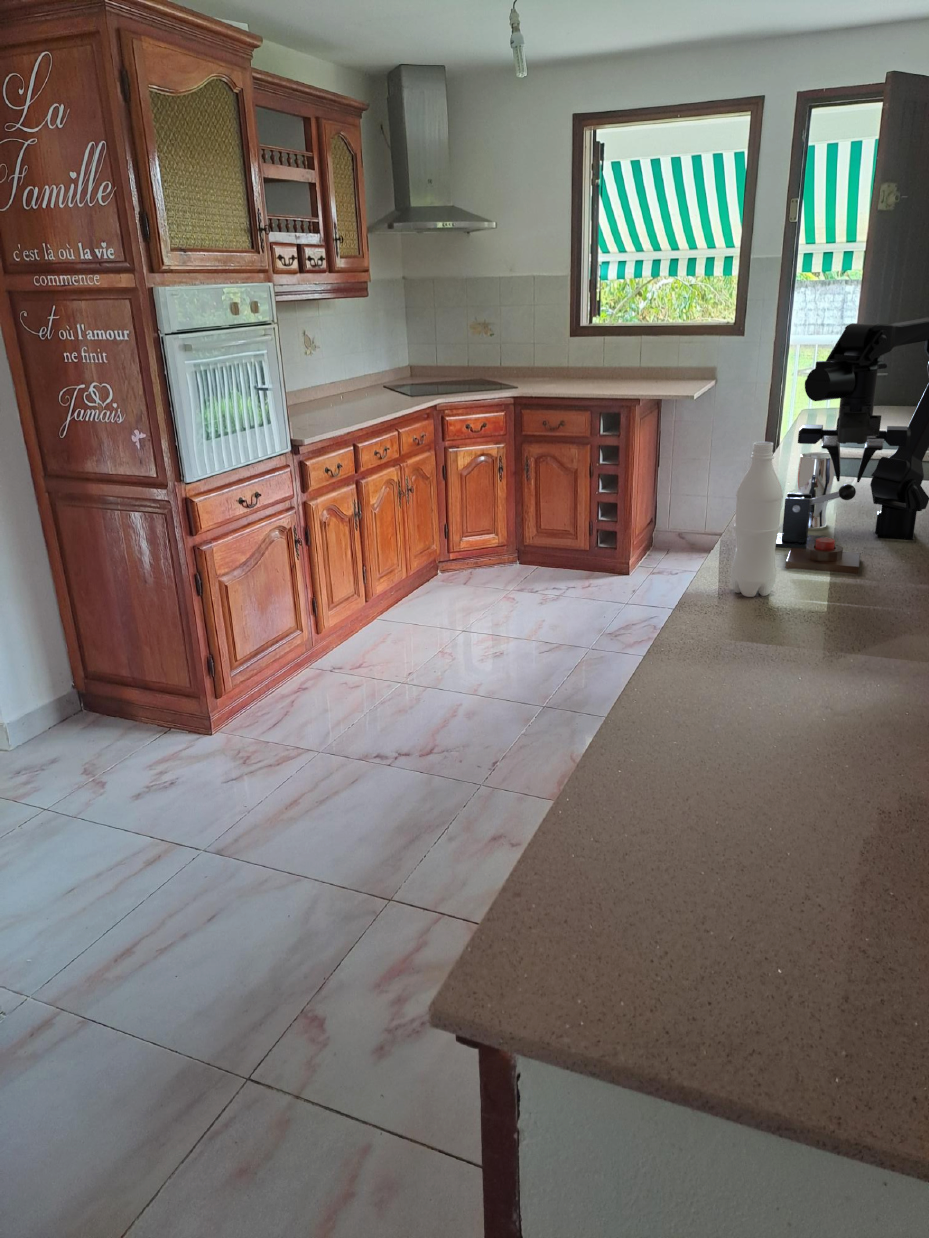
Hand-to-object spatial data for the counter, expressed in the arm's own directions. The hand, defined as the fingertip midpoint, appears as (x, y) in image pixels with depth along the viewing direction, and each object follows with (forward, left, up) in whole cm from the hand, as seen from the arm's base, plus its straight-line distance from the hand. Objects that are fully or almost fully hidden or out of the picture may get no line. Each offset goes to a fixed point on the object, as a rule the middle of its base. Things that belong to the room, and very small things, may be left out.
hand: (848, 481), depth 165 cm
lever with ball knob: (+4, 0, -5) cm, 6 cm away
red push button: (+2, +13, -10) cm, 16 cm away
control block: (+2, +12, -13) cm, 18 cm away
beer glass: (+6, -15, -13) cm, 21 cm away
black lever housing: (+8, 0, -13) cm, 16 cm away
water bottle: (+12, +31, -13) cm, 36 cm away
